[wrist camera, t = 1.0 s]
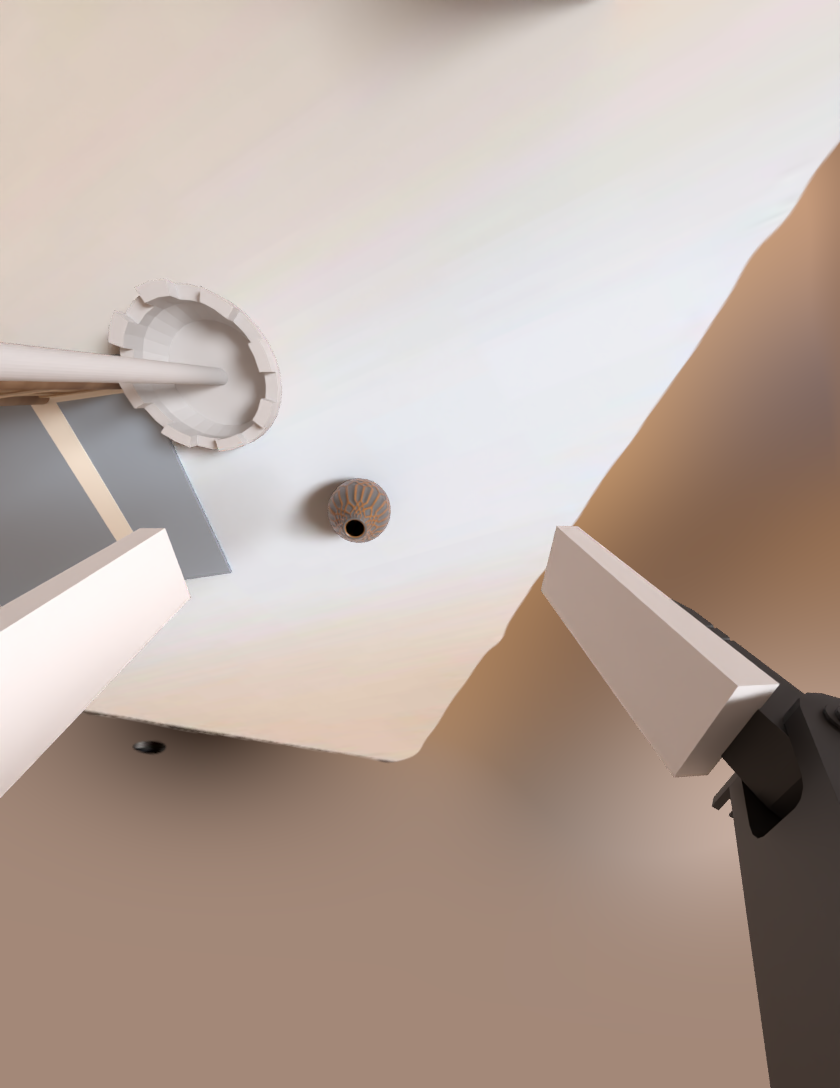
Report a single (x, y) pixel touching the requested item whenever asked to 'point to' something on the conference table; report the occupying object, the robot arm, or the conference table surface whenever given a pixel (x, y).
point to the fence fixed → (45, 391)
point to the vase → (359, 510)
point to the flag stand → (175, 365)
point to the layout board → (91, 489)
